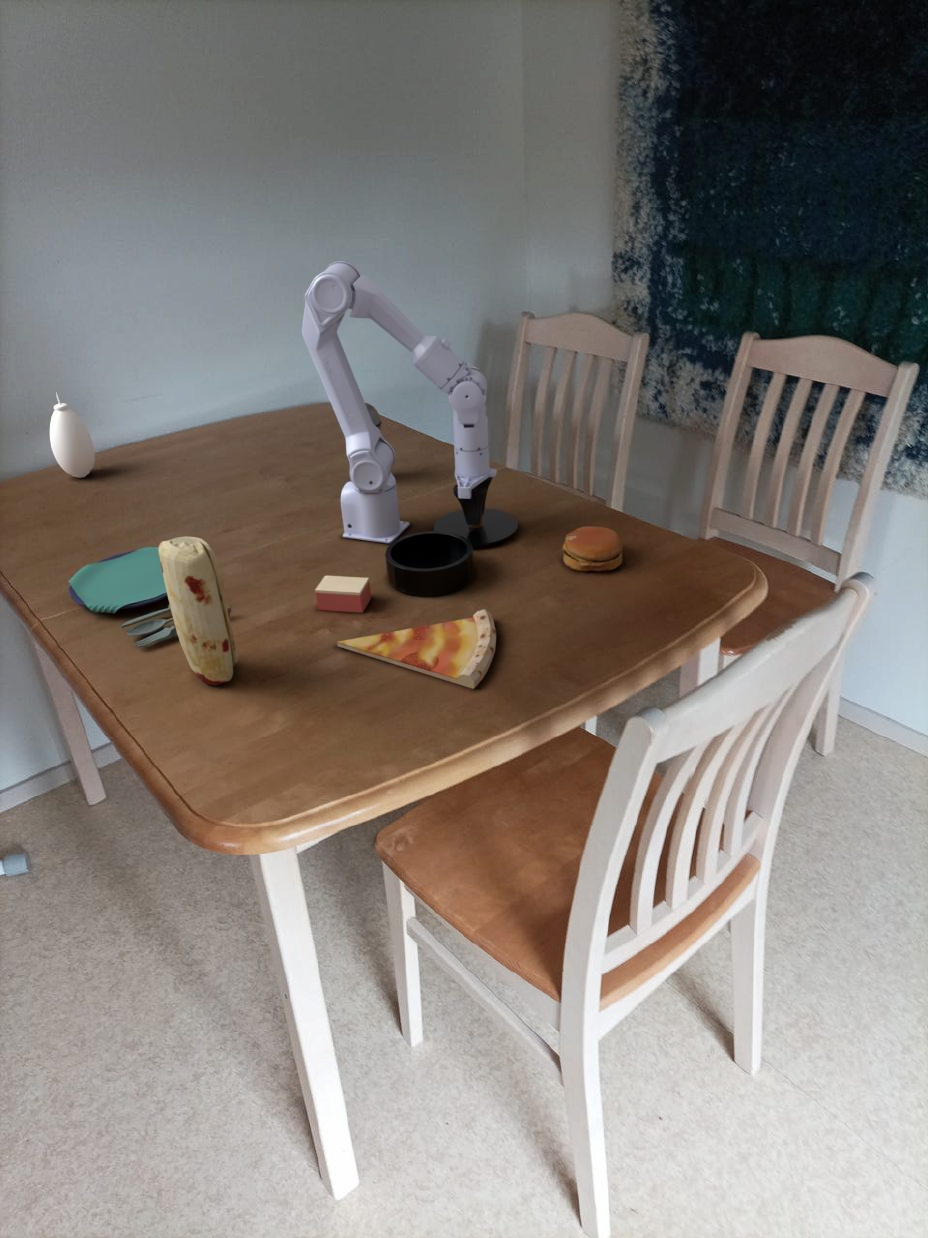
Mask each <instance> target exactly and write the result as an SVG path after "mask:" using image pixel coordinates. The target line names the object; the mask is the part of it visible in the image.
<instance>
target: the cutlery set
mask: <svg viewBox="0 0 928 1238" xmlns="http://www.w3.org/2000/svg"><path fill="white" fill-rule="evenodd" d="M158 548H159V546H156V547H155V546H151V547H149V546H145V547H142V548H139V549H136V550H130V551H126V552H122V553H118V554H114V555H111V556H109V557H107V558H104V559H101V560H99V561H97V562H93V563H90V564H86V565H84V566H83V567H82V568H80V569H79V571H77V572H76V573H75V574H74V575H73V576H72V577H71V578H69V580H68V581H67V582H68V583H69V587H68V592H69V595H70V598H71V600H73V601H74V602H75V603H77V604H78V605H79V606H82V607H86V608H88V609H89V610H90V611H91V612H93V613H99V614H100V613H103V614H104V613H108V614H115V613H116V612H117V611H118V610H126V609H132V608H133V609H134V608H138V607H142V606H146V605H149V604H153V603H156V602H159V601H161V600H164V599H166V598H168V595H167V591H166V587H165V582H164V577H163V572H162V568H161V563H160V557H159V551H158ZM228 608H229V613H230V614H231V613H232V608H231V606H229V605H228ZM169 612H170V613H171V614H172V611H171V607H170V604H168V605H167V608H164V609H159V610H156V611H152V612H150V613H147V614H144V615H142V616H139V617H136V618H133V619H130V620H128V621H126V622H124V623H122V624H121V626H120V627H121V629H124V628H127V627H129V626H132V625H134V626H132V627H131V628H130V629H129V630H127V632H126V634H127V636H129V637H144V636H148V635H150V636H148V637H145V638H143V639H141V640H138V641H135V642H134V644H135V647H137V648H143V647H147V646H149V645H151V644H154V643H157V642H161V641H166V640H168V639H170V638H173V637H174V636H175V635H178V634H177V631H176V627H175V625H171V626H170V627H164V626H165V625H167V624H169V623H171V622H174V620H173V616H172V617H170V618H169V619H164V618H163V619H162V618H161V619H160V618H159V619H152V618H156V617H158V616H160V615H164V614H167V613H169ZM149 619H151V620H149ZM147 620H148V621H147ZM141 622H142V623H141ZM138 623H139V624H138ZM135 624H136V625H135ZM163 627H164V628H163ZM162 628H163V629H162ZM161 629H162V630H161Z"/></svg>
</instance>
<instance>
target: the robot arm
mask: <svg viewBox="0 0 928 1238" xmlns="http://www.w3.org/2000/svg"><path fill="white" fill-rule="evenodd" d="M348 310H351V311H350V314H349V318H353V319H369V320H372V321H373V322H374V323H375V324H376V325H378V326H379V327H380V328H381V329H382V330H383V331H385V332H386V333H387V334H389V336H391V337H392V338H393V339H395V340H396V341H397V342H398V343H399V344H401V346H403V347H404V348H405V349H407V350H408V351H409V352H410V354H411V362H412V365H413V366H414V367H415V369H417V370H418V371H419V372H420V373H421V374H423V375H424V376H425V377H426V378H427V379H428V380H429V381H430V382H431V383H432V384H433V385H435V386H436V387H437V388H438V389H439V390H440V391H441V392H443V393H445V394H447V395H449V396H447V399H448V402H449V405H450V406H451V408H452V411H453V412H452V413H453V414H452V415H453V418H452V433H453V448H454V449H453V453H454V467H455V468H454V473H453V474H454V478H455V481H456V484H455V485H454V486H453V488H452V491H453V492H452V493H453V495H454V497H455V498H456V499H457V501H458V503H459V505H460V507H461V510H463V513H464V516H465V520H466V522H467V525H479V524H480V520H481V512H482V517H483V514H484V509H485V508H486V502H487V495H488V492H489V488H490V485H491V483H492V481H493V479H494V478H495V477H497V474H498V470H497V468H491V466H490V449H489V448H490V447H489V444H490V443H489V418H488V416H487V412H488V409H487V405H486V404H487V403H486V402H487V392H488V382H487V379H486V377H485V375H484V374H483V372H482V371H481V369H480V368H478V367H476V366H473V364H472V363H471V362H470V361H467V362H465V360H463V359H462V358H461V357H460V356H459V355H458V354H457V353H456V352H455V351H454V350H453V349H452V348H451V347H450V346H451V342H450V341H449V340H448V339H447V338H446V337H445V338H443V339H441V338H440V337H439V336H437V335H425V334H423V332H422V331H421V330H420V329H419V328H418V327H417V326H416V325H415V324H414V322H412V321H411V320H410V319H409V318H408V317H407V316H406V315H405V314H404V313H403V312H402V311H401V310H400V309H399V308H398V307H397V306H396V305H395V304H394V303H393V302H392V301H391V300H390V298H388V297H387V295H385V294H384V293H383V292H382V290H381V289H380V288H379V287H378V286H377V285H376V284H375V283H374V282H373V281H372V280H371V279H370V278H369V277H368V276H366V275H365V274H363V273H362V274H361V273H360V271H359V270H358V269H357V267H356V266H354V265H353V264H351V263H350V262H347V261H344V260H343V261H341V260H338V261H334V262H331V263H330V264H329V265H327V267H326V268H325V269H324V270H323V271H322V272H320V273H319V274H318V275H316V276H315V277H314V278H313V279H312V282H311V283H310V285H309V287H308V288H307V290H306V292H305V294H304V311H303V318H302V325H301V334H302V339H303V341H304V343H305V346H306V347H307V351H308V352H309V355H310V358H311V360H312V362H313V364H314V366H315V369H316V371H317V374H318V376H319V379H320V381H321V383H322V386H323V388H324V390H325V393H326V395H327V397H328V400H329V402H330V405H331V407H332V409H333V412H334V414H335V417H336V419H337V421H338V424H339V427H340V429H341V431H342V433H343V436H344V438H345V451H346V453H345V454H346V458H347V459H348V462H349V463H348V464H349V479H350V481H348V482H346V483H345V484H344V486H342V489H341V492H340V509H341V516H342V523H343V524H342V525H343V533H342V537H343V538H345V539H353V540H354V539H355V540H361V541H367V542H374V543H383V544H391V543H392V542H394V541H396V540H397V539H398V537H399V536H400V535H402V533H403V532H405V530H407V528H409V526H410V522H409V521H403V520H400V519H401V518H400V509H399V499H398V489H397V480H396V477H395V476H394V474H393V473H392V471H391V469H392V467H393V466H394V465H395V462H396V453H395V450H394V448H393V446H392V445H391V444H390V442H388V441H387V440H386V439H385V438H384V437H383V433H382V431H381V432H380V430H379V429H378V428H377V427H376V426H375V425H374V424H373V422H372V420H371V417H370V415H369V412H368V410H367V407H366V405H365V403H366V401H365V399H364V397H363V394H362V393H361V390H360V388H359V384H358V383H357V379H356V378H355V375H354V372H353V370H352V367H351V365H350V362H349V360H348V357H347V355H346V352H345V350H344V347H343V344H342V342H341V340H340V338H339V335H338V330H339V327H340V326H341V323H342V321H343V319H344V317H345V315H346V314H345V313H346V312H347V311H348Z"/></svg>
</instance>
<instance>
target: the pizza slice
mask: <svg viewBox="0 0 928 1238" xmlns="http://www.w3.org/2000/svg"><path fill="white" fill-rule="evenodd" d="M496 644H497V630H496V627H495V622H494V617H493V615H492V614H491V612H490V611H488V610H487V609H486V608H484V609H481V610H477V611H476V612H475V613H474V614H473V615H472V617H468V618H462V619H456V620H450V621H445V622H440V623H439V622H438V623H434V624H429V625H422V626H418V627H411V628H406V629H401V630H396V631H395V630H394V631H389V632H383V633H378V634H372V635H367V636H361V637H356V638H350V639H346V640H340V641H339V640H338V641H336V645H337V646H336V647H339V648H341V649H345V650H348V651H352V652H355V653H358V654H360V655H364V656H367V657H371V658H373V659H377V660H380V661H383V662H387V663H390V664H393V665H395V666H399V667H402V668H405V669H408V670H412V671H415V672H418V673H421V674H425V675H428V676H431V677H434V678H437V679H440V680H444V681H447V682H450V683H453V684H456V685H460V686H463V687H465V688H469V689H472V690H473V689H475V688H476V687H478V685H479V684H480V682H481V681H482V680H483V679H484V677H485V675H486V674H487V672H488V671H489V668H490V666H491V663H492V661H493V659H494V655H495V653H496V646H497V645H496Z"/></svg>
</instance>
